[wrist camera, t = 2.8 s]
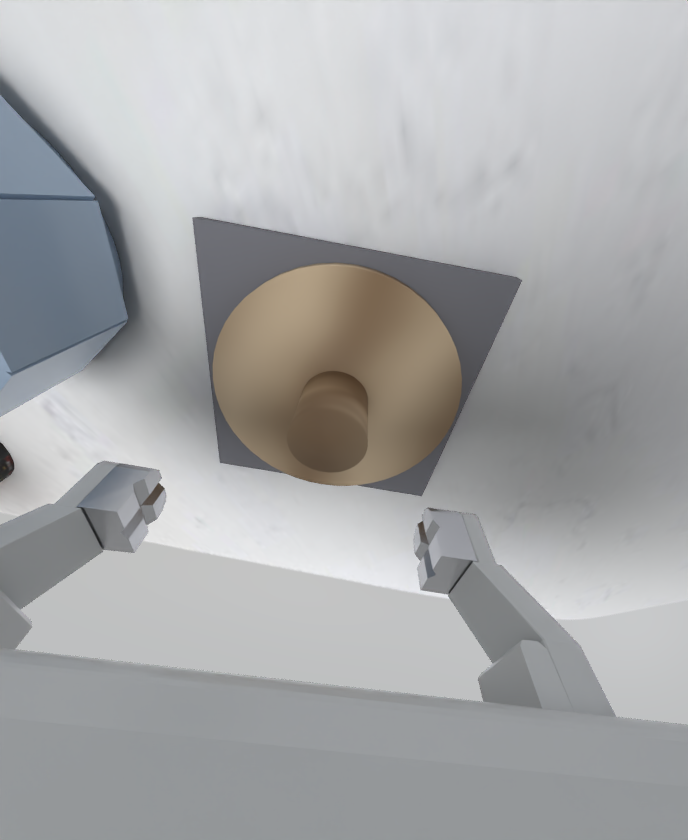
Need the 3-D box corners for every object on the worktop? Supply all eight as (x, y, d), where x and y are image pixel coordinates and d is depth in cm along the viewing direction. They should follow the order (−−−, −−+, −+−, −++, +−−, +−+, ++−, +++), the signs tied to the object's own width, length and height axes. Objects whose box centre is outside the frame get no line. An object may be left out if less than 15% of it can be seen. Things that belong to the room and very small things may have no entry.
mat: (515, 277, 12) (522, 280, 11) (420, 488, 18) (421, 495, 18) (200, 216, 11) (192, 217, 11) (224, 455, 18) (219, 462, 18)
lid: (501, 290, 11) (551, 322, 8) (416, 488, 18) (426, 548, 15) (207, 237, 11) (143, 249, 8) (228, 458, 17) (197, 513, 14)
